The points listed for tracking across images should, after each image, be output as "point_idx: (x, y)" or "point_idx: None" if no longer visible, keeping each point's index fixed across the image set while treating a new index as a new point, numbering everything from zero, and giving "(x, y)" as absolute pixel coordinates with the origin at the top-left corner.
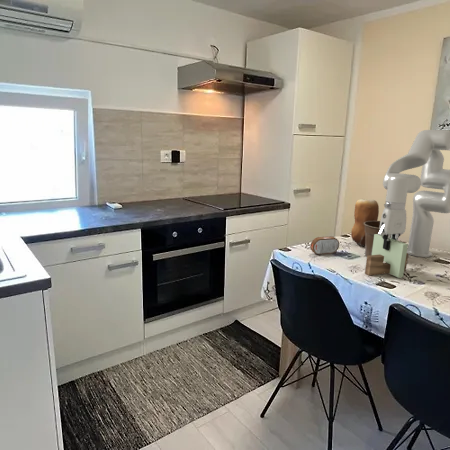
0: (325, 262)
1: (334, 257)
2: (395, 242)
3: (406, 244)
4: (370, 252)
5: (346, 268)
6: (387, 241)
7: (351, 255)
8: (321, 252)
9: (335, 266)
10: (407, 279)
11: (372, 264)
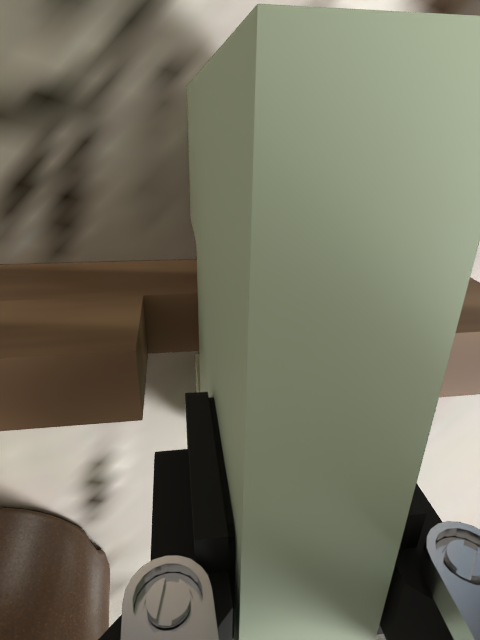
0: (468, 518)
1: None
2: (424, 394)
3: (348, 11)
4: (103, 600)
5: (441, 416)
6: (425, 530)
7: None
8: (380, 634)
9: (474, 457)
10: (140, 56)
11: (466, 292)
